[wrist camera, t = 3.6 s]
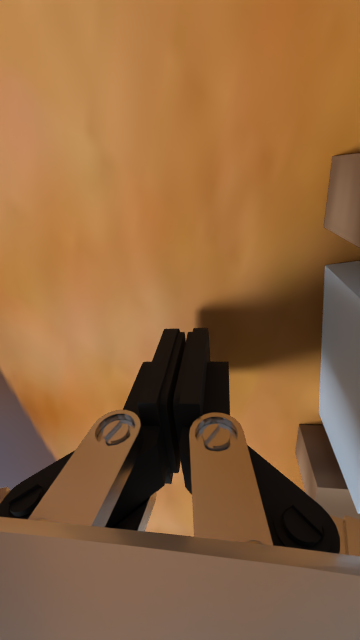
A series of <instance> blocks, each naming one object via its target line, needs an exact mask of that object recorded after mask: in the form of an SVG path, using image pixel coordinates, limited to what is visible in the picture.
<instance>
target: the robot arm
mask: <svg viewBox="0 0 360 640" xmlns="http://www.w3.org/2000/svg"><path fill="white" fill-rule="evenodd" d="M180 461H181V465H182V471H183V475H184V481H185V487H186V488H187V490H188V491H189V492H190V493H191V494H192V503H193V523H194V537H191V536H182V535H173V534H163V533H154V532H145V529H146V526H147V523H148V521H149V518H150V515H151V512H152V509H153V506H154V504H155V500H156V492H157V491H158V490H159V489H160V488H162V487H163V486H164V485H165V483H168V484H171V483H172V477H173V473H178V472H179V468H180ZM0 640H360V519H356V518H353V517H350V516H346V515H345V517H344V519H341V518H338V517H335V516H331V515H329V514H328V513H327V512H326V511H325V510H324V508H323V507H322V506H321V505H319V504H318V503H317V502H316V501H315V500H313V499H312V498H311V497H310V496H309V495H307V494H306V493H305V492H304V491H302V490H301V489H300V488H299V487H298V486H296V485H295V484H294V483H293V482H292V481H290V480H289V479H288V478H287V477H285V476H284V475H283V474H282V473H281V472H279V471H278V470H277V469H276V468H275V467H273V466H272V465H271V464H270V463H268V462H267V461H266V460H265V459H264V458H262V457H261V456H260V455H259V454H258V453H256V452H255V451H254V450H253V449H251V448H250V447H249V446H248V445H247V443H246V439H245V435H244V431H243V429H242V427H241V425H240V423H239V422H238V421H237V420H236V419H235V418H233V417H231V416H230V401H229V364H228V362H210V349H209V333H208V328H194V329H193V332H188V335H187V339H186V340H185V333H184V332H180V330H179V329H164V331H163V334H162V337H161V339H160V342H159V345H158V347H157V350H156V353H155V355H154V358H153V360H152V362H143V364H142V366H141V368H140V370H139V373H138V375H137V377H136V380H135V382H134V384H133V387H132V389H131V392H130V394H129V396H128V399H127V401H126V403H125V406H124V408H123V410H116V411H112V412H109V413H107V414H105V415H103V416H102V417H101V418H99V419H98V420H97V421H96V422H95V423H94V425H93V426H92V427H91V429H90V430H89V432H88V433H87V435H86V436H85V437H84V439H83V440H82V442H81V443H80V445H79V446H78V448H77V449H76V450H75V451H73V452H71V453H70V454H68V455H66V456H65V457H63V458H61V459H60V460H58V461H56V462H55V463H53V464H51V465H49V466H48V467H46V468H45V469H43V470H41V471H39V472H38V473H36V474H34V475H33V476H31V477H29V478H28V479H26V480H24V481H23V482H21V483H20V484H18V485H17V486H16V487H14V488H13V489H12V490H9V488H8V487H3V488H0Z"/></svg>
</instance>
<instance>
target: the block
mask: <svg viewBox="0 0 360 640" xmlns="http://www.w3.org/2000/svg"><path fill="white" fill-rule="evenodd" d="M319 415H320V417H321V420H322V422H323V425H324V428H325V430H326V433H327V435H328V438H329V441H330V443H331V446H332V448H333V451H334V453H335V456H336V459H337V461H338V464H339V466H340V469H341V472H342V474H343V477H344V479H345V482H346V484H347V487H348V490H349V492H350V495H351V497H352V500H353V503H354V505H355V508H356V510H357V513H358V514H360V261H353V262H345V263H338V264H330V265H325V278H324V302H323V326H322V350H321V374H320V398H319Z"/></svg>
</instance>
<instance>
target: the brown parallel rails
mask: <svg viewBox="0 0 360 640" xmlns="http://www.w3.org/2000/svg"><path fill="white" fill-rule="evenodd" d="M324 228H326V229H328V230H330V231H331V232H333V233H335V234H337V235H338V236H340V237H342V238H344V239H345V240H347V241H349V242H351V243H352V244H354V245H356V246H357V247H359V248H360V153H356V154H348V155H340V156H332V164H331V172H330V180H329V188H328V196H327V204H326V212H325V220H324ZM296 457H297V461H298V465H299V469H300V473H301V477H302V481H303V484H304V488H305V492H306V494H307V495H309V496H310V497H311V498H312V499H313V500H315V501H316V502H317V503H318V504H319V505H321V506H322V507H323V508H324V510H325V511H326V512H327V513H328V514H329V515H331V516H335V517H338V518H341V519H344V517H345V515H346V516H350V517H353V518H356V519H360V514H358V513H357V510H356V508H355V505H354V503H353V500H352V497H351V495H350V492H349V490H348V487H347V484H346V482H345V479H344V477H343V474H342V472H341V469H340V466H339V464H338V461H337V459H336V456H335V453H334V451H333V448H332V446H331V443H330V441H329V438H328V435H327V433H326V430H325V428H324V425H299V429H298V437H297V445H296Z"/></svg>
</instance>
